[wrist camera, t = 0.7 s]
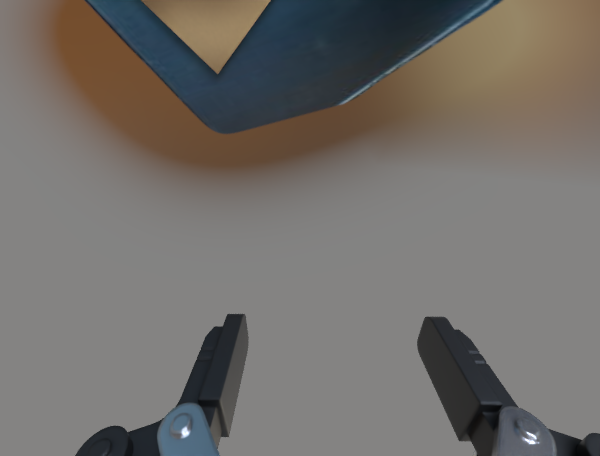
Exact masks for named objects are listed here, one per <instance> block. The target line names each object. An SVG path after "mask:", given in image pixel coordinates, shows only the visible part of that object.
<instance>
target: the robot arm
mask: <svg viewBox="0 0 600 456" xmlns="http://www.w3.org/2000/svg"><path fill="white" fill-rule="evenodd" d="M417 346H418V351H419V354H420V357H421V359H422V361H423V363H424V365H425V368H426V369H427V372H428V374H429V376H430V379H431V380H432V383H433V385H434V387H435V389H436V392H437V394H438V396H439V398H440V400H441V403H442V405H443V407H444V409H445V411H446V413H447V416H448V418H449V420H450V422H451V424H452V427H453V429H454V431H455V433H456V435H457V437H458V440H459V441H471V442H472V444H473V446H474V448H475V451H474V454H473V456H600V434H598V433H591V434H589V435H588V436H586V437H585V438H584V439H583V440H580V439H577V438H574V437H571V436H568V435H565V434H562V433H559V432H556V431H553V430H550V429H548V428H546V426H545V425H544V424H543V423H542V422H541V421H540V420H538V419H537V418H536V417H535V416H533V415H532V414H531V413H529V412H527V411H525V410H523V409H521V408H519V407H518V406H517V405H516V404H515V402H514V401H513V399H512V398H511V396H510V395H509V394H508V392H507V391H506V390H505V388H504V386H503V385H502V384H501V382H500V381H499V379H498V378H497V376H496V375H495V374H494V372H493V371H492V369H491V368H490V366H489V365H488V364H486V361H485V359H484V358H483V356H482V355H481V354H479V351H478V349H477V348H476V346H475V345H474V344H473V342H472V341H471V340H470V339H469V338H468V337H467V336H466V335H465V334H463V333H462V332H461V331H460V330H454V329H453V327H452V326H451V324H450V322H449V321H448V320H447V319H446V318H445V317H425V319H424V321H423V324H422V328H421V331H420V334H419V337H418V341H417ZM247 351H248V331H247V324H246V316H245V314H228V315H227V317H226V320H225V322H224V325H223V327H214V328H213V329H212V330H211V331H210V332H209V333H208V335H207V336H206V337H205V340H204V342H203V345H202V347H201V350H200V352H199V355H198V357H197V360H196V362H195V364H194V367H193V369H192V372H191V374H190V377H189V379H188V382H187V384H186V386H185V389H184V392H183V394H182V397H181V399H180V401H179V402H178V404H177V406H176V407H175V408H174V409H172V410H171V411H170V412H169V413H168V414H167V415H166V416H165V417H164V418H163V419H162V420H160V421H158V422H156V423H154V424H151V425H148V426H145V427H142V428H139V429H136V430H133V431H130V432H127V431H126V430H125V429H124V428H123V427H120V426H110V427H107V428H105V429H102V430H100V431H99V432H97V433H96V434H94V435H93V436H92V437H90V438H89V439H88V440H87V441H86V442H85V443H84V444H83V446H82V447H81V448H80V449H79V451H78V452H77V454H76V455H75V456H220V455H219V452H218V450H217V449H218V445H219V441H220V437H229V434H230V429H231V424H232V420H233V415H234V411H235V406H236V402H237V397H238V393H239V388H240V383H241V378H242V374H243V370H244V365H245V360H246V356H247Z"/></svg>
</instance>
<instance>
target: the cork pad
mask: <svg viewBox="0 0 600 456" xmlns="http://www.w3.org/2000/svg"><path fill="white" fill-rule="evenodd" d="M141 1H142V2H143V3H144V4H145V5H146V6H147V7H148V8H149V9H150V10H152V11H153V12H154V13H155V14H156V15H157V16H158V17H159V18H160V19H161V20H162V21H163V22H164V23H165V24H166V25H167V26H168V27H169V28H170V29H171V30H172V31H173V32H174V33H175V34H176V35H177V36H179V37H180V38H181V39H182V40H183V41H184V42H185V43H186V44H187V45H188V46H189V47H190V48H191V49H192V50H193V51H194V52H195V53H196V54H197V55H198V56H199V57H200V58H201V59H202V60H203V61H204V62H206V63H207V64H208V65H209V66H210V67H211V68H212V69H213V70H214V71H215V72H216V73H217V74H218V73H219V72H220V70H221V69H222V68H223V66H224V65H225V63H226V62H227V61H228V59H229V58H230V56H231V55H232V54H233V52H234V51H235V50H236V48H237V47H238V45H239V44H240V43H241V41H242V40H243V38H244V37H245V36H246V34H247V33H248V31H249V30H250V29H251V27H252V26H253V24H254V23H255V22H256V20H257V19H258V17H259V16H260V15H261V13H262V12H263V10H264V9H265V8H266V6H267V5H268V3H269V2H270V1H271V0H141Z"/></svg>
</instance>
